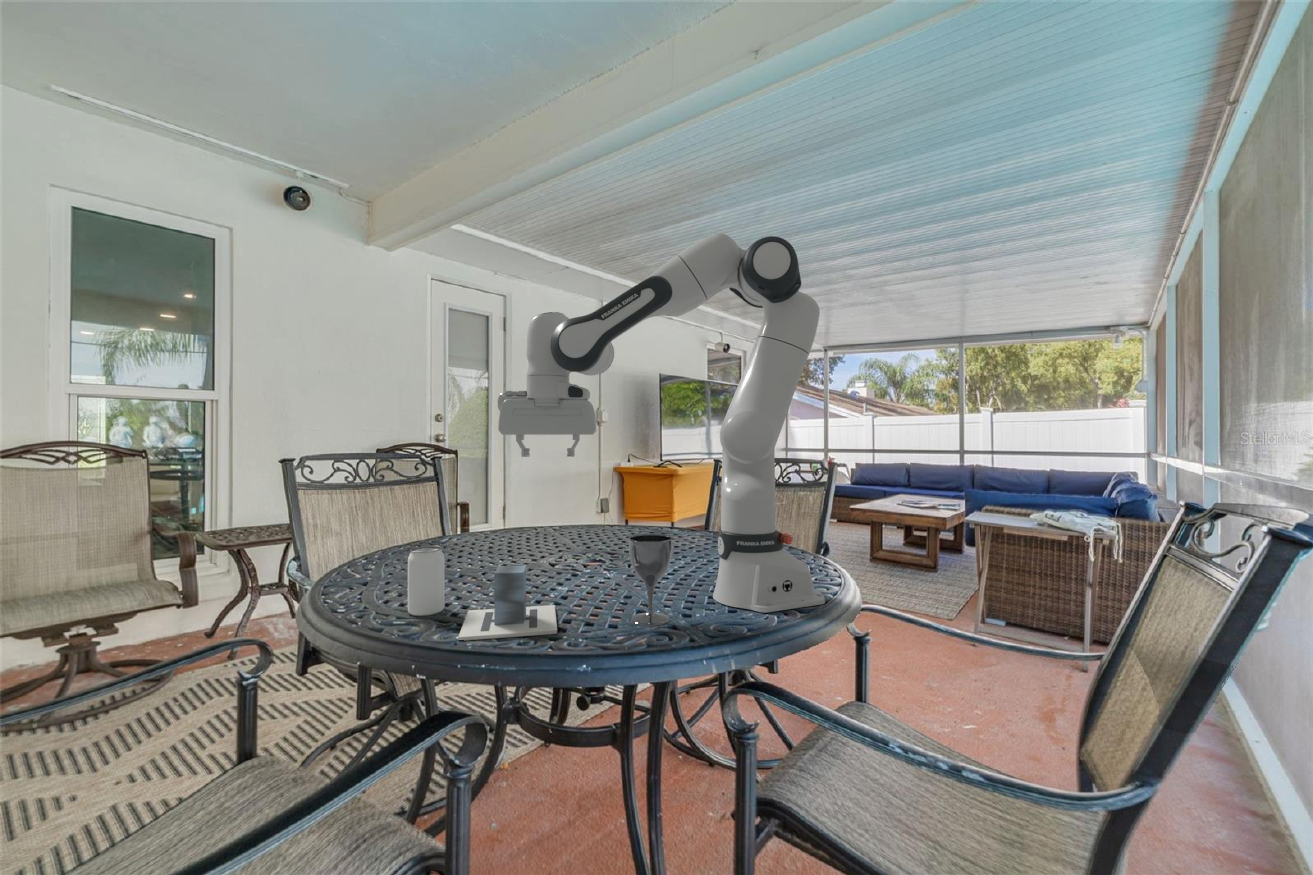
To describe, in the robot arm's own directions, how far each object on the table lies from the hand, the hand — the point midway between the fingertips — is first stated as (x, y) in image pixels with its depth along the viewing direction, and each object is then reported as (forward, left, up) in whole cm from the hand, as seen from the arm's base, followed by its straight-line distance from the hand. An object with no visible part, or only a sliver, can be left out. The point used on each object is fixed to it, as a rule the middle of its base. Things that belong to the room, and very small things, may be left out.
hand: (548, 456), depth 118 cm
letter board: (+7, +17, -29) cm, 34 cm away
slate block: (+7, +17, -28) cm, 34 cm away
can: (+23, +7, -29) cm, 38 cm away
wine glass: (-18, +20, -29) cm, 40 cm away
